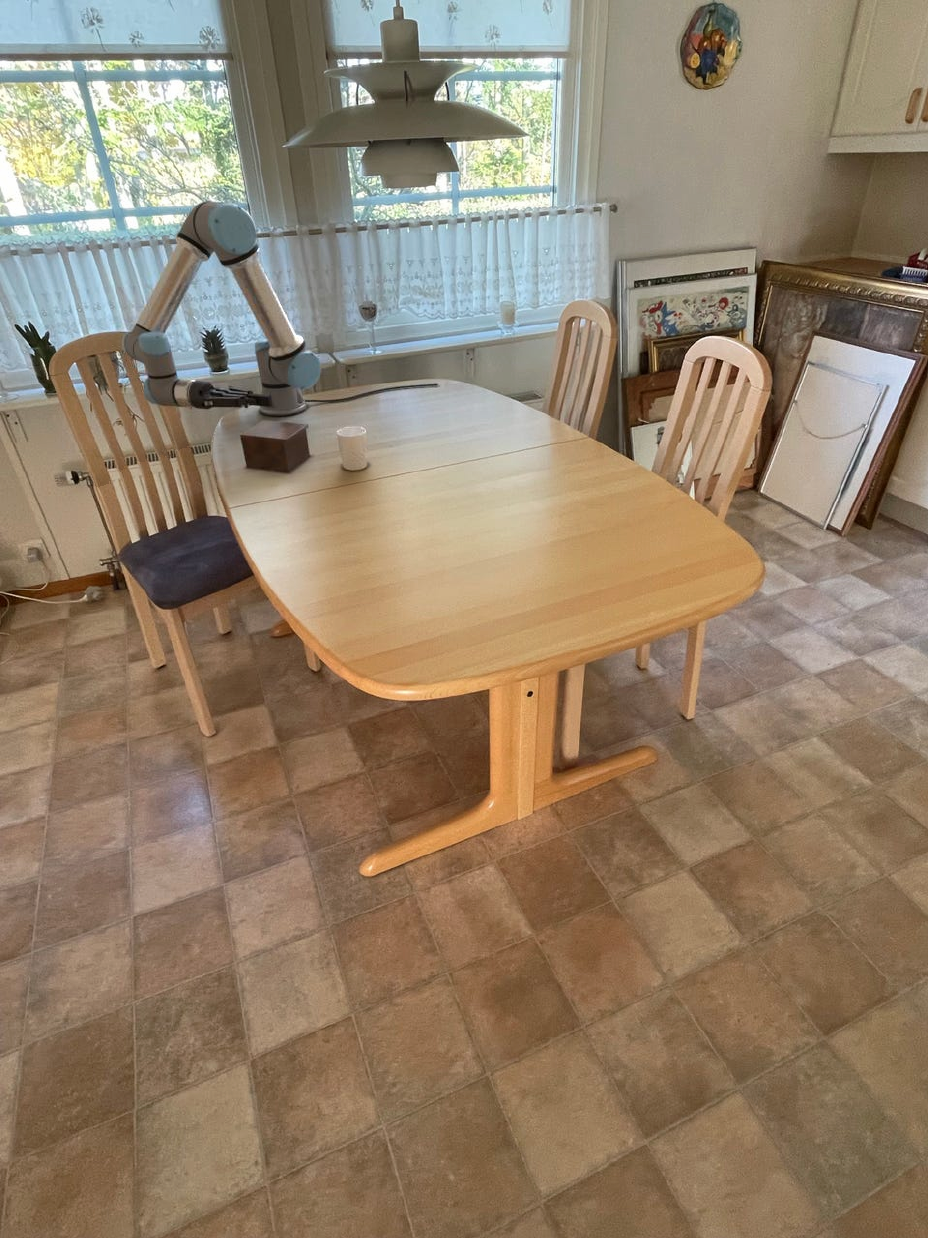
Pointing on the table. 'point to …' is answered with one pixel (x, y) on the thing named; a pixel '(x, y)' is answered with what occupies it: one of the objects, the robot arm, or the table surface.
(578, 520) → the table surface
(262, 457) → the tea box
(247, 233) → the robot arm
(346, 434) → the white cup
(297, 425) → the lid
